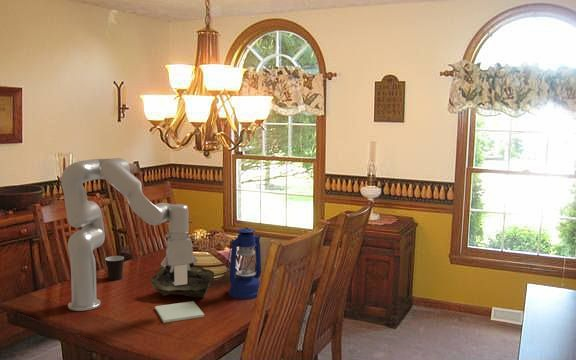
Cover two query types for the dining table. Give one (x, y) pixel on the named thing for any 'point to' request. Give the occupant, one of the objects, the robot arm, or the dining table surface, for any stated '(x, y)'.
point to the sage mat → (179, 311)
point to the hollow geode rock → (193, 288)
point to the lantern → (244, 282)
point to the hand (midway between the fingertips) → (179, 279)
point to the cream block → (180, 274)
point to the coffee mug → (114, 267)
